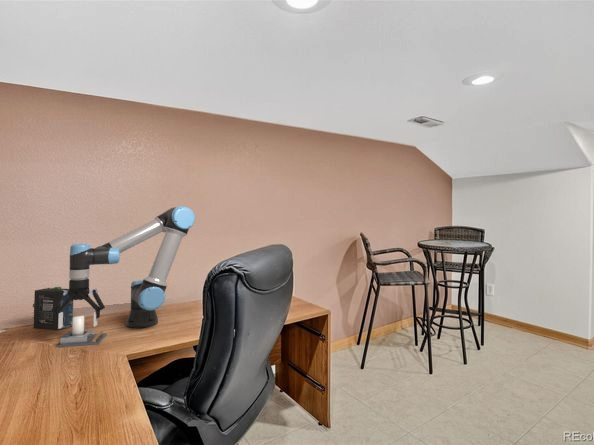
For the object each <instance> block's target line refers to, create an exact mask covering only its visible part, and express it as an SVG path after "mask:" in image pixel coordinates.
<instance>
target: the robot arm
mask: <svg viewBox="0 0 594 445" xmlns="http://www.w3.org/2000/svg"><path fill="white" fill-rule="evenodd" d="M195 216H196V215H195V213H194V211H193V210H192V209H191V208H190V207H187V206H177V207H176V206H175V207H171V208H169V209H167V210H165V211H164V212H162V213H161V214H159V215H157V216H155V218H154V219H153V220H151V221H149V222H147V223H145V224H143V225H140V226H139V227H137V228H135V229H133V230H130V231H129V232H127V233H125V234H123V235H120V236H119V237H116V238H115V239H112V240H110V241H109V242H105V243H104V244H102V245H98V246H97V247H93V248H92V247H91V245H90V244H89V243H73V244H72V245H71V246H70V247H69V274H68V275H69V277H68V279H69V280H68V289H69V290H68V291H67V290H62V291H60V296H59V298H58V300H57V301H56V303H55V305H54V306H53V308H52V310H51V312H55V313H56V321H58V329H60V328H62V327H63V312H61V311H62V310H63V309H64V308H65V307H66V306H67V305H68V303H69V302H70V301H71V300H72V299H73V301H83V300H84V301H86V302H87V303H88V304H89V306H90V307H92V308H93V309H94V310H95V311H94V312H93V327H96V326H98V319H99V318H100V317H101V311H102V310H104V309H105V304H104V303H103V301H102V299H101V298H100V296H99V294H98V289H97V288H94V289H90V279H89V278H90V266H92V265H93V266H94V265H95V266H96V265H115V264H119V262H120V257H121V253H123V252H126V251H127V250H130V249H131V248H133V247H135V246H137V245H139V244H141V243H143V242H146V241H147V240H149V239H151V238H153V237H155V236H157V235H158V234H161V233H163V234H164V236H163V239H162V241H161V244H160V246H159V249H158V250H157V254H156V256H155V258H154V261H153V263H152V266H151V269H150V272H149V274H148V276H146V277H144V278H143V280H134V281H132V282H131V286H130V311H129V314H128V317H127V320H126V327H127V328H147V327H148V328H149V327H152V326H155V325H157V324H158V322H159V317H158V313H157V311H156V310H158V309H159V308H160V307H161V306H162V305H164V303H165V300H166V294H165V292H166V289H167V287H168V285H167V282H166V281H167V278H168V275H169V273H170V272H171V271H170V270H171V268H172V266H173V263H174V261H175V258H176V255H177V253H178V250H179V247H180V245H181V242H182V241H183V240H182V239H183V238H184V237H186V236H188V233H189V230H190V228H192V227H193V226H194V224H195V221H196V217H195ZM67 293H68V294H69V296H70V297H69V298H68V299H67V300H66V301H65V303H64V304H63V305H62V306H61V307H60V308H59V309H57V308H58V306H59V305H60V303H61V301H62V299H63V298H64V296H65V295H66V294H67ZM89 294H91V295H92V296H93V298H94V300H95V301H94V300H93V299H92V298H91V296H90V295H89Z"/></svg>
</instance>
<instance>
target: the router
mask: <svg viewBox="0 0 594 445" xmlns="http://www.w3.org/2000/svg"><path fill="white" fill-rule="evenodd" d="M62 290H67V291H68V290H69V288H62V286H54V287H46V288H42V289H41V288H40V289H35V290H34V295H33V296H34V297H33V298H34V301H33V303H32V308H33V317H32V319H33V327H32V329H35V330H37V329H38V330H48V331H62V330H65V329H68V328H72V321H73V317H74V300H73V299H72V300H71V301H70V302H69V303H68V305H67V306H66V307H65V308H64V309H63V310H62V311H61V312H63V327H62V328H60V329H58V321H56V313H55V312H51V310H52V308H53V306H54V305H55V303H56V301H57V300H58V298H59V296H60V291H62ZM69 297H70V296H69V294H68V293H67V294H66V295H65V296H64V298H63V299H62V301H61V303H60V305H59V306H58V308H57V309H59V308H60V307H61V306H62V305H63V304H64V303H65V301H66V300H67V299H68V298H69Z"/></svg>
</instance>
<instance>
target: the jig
mask: <svg viewBox="0 0 594 445" xmlns="http://www.w3.org/2000/svg"><path fill="white" fill-rule="evenodd" d="M107 334H108V333H107V332H106V333H105V332H104V330H103V331H102V330H100V331H99V332H98V333H95V329H84V335H78V336H72V330H69V331H67V332H66V333H65V334H63V336H61V337H60V341H59V342H58V344H56V345H55V348H56V347H58V348H71V347H82V346H83V347H84V346H96V345H99V346H100V344H101V343H102V341H103V340H105V338H106V337H107Z"/></svg>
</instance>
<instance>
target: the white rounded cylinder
mask: <svg viewBox="0 0 594 445" xmlns="http://www.w3.org/2000/svg"><path fill="white" fill-rule="evenodd" d="M84 330H85V315H81V314H79V315H73V321H72V326H71V331H72V336H78V335H84Z"/></svg>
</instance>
